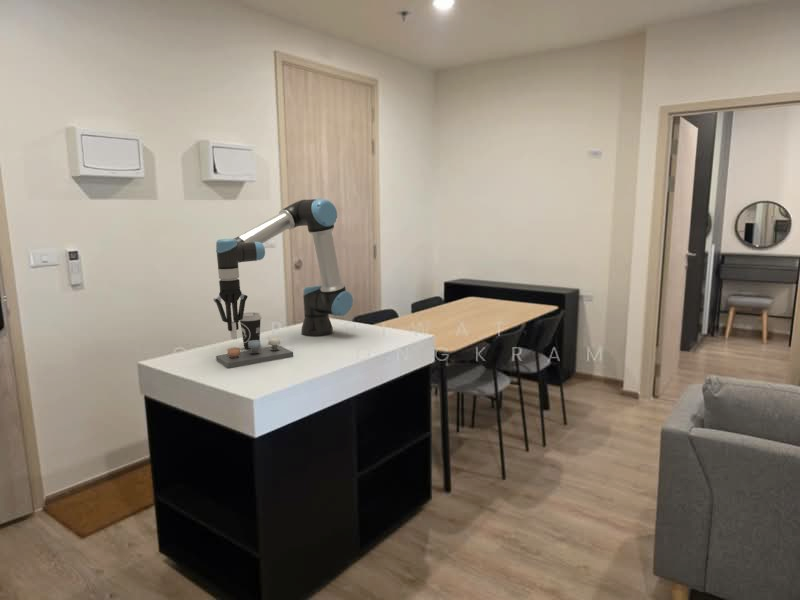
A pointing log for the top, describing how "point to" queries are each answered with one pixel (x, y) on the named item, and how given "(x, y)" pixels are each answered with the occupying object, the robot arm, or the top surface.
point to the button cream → (274, 342)
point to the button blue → (254, 345)
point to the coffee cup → (250, 327)
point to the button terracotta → (233, 352)
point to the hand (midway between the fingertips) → (234, 338)
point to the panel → (254, 356)
